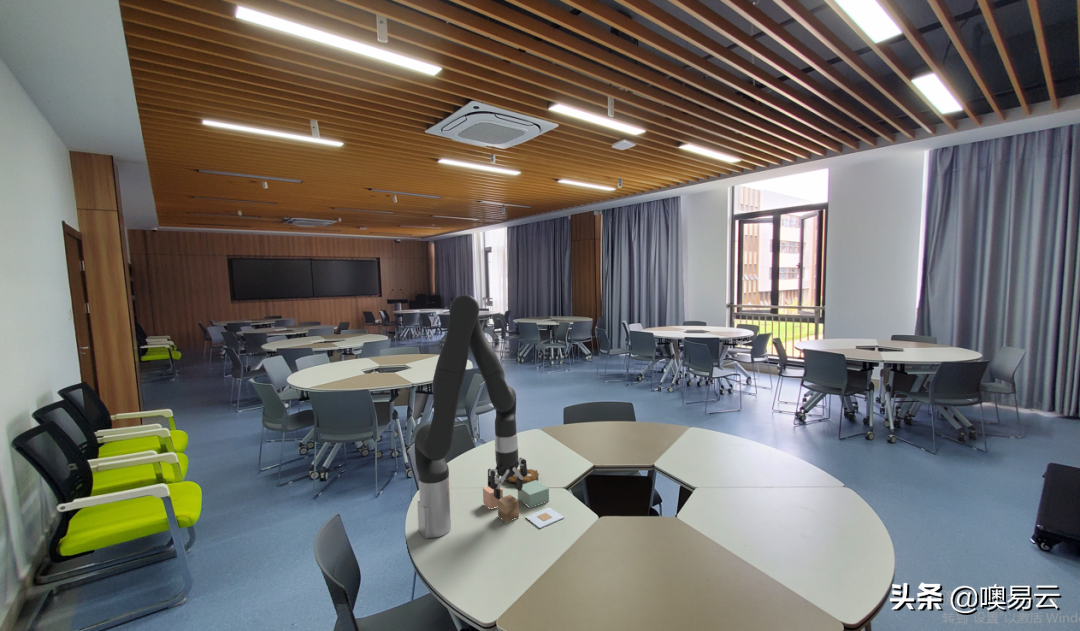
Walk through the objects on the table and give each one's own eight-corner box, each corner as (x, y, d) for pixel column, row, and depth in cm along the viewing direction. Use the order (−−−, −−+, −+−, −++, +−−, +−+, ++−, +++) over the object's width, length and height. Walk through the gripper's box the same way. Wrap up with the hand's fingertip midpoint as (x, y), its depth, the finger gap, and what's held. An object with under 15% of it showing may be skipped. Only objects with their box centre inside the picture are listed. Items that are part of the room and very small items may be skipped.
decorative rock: (498, 488, 165) (538, 489, 165) (498, 478, 165) (538, 479, 164) (502, 473, 177) (539, 475, 176) (502, 464, 176) (539, 465, 176)
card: (539, 528, 137) (539, 527, 137) (525, 518, 143) (525, 516, 143) (564, 518, 143) (564, 516, 143) (549, 508, 149) (549, 506, 149)
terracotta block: (490, 510, 149) (490, 493, 148) (483, 504, 153) (482, 488, 152) (503, 505, 152) (502, 489, 151) (495, 500, 156) (495, 483, 155)
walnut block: (506, 523, 141) (505, 505, 140) (498, 516, 145) (497, 499, 144) (518, 518, 144) (518, 500, 143) (510, 511, 148) (510, 494, 147)
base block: (530, 508, 150) (529, 494, 149) (517, 499, 156) (517, 486, 156) (549, 501, 154) (548, 488, 154) (536, 493, 161) (536, 480, 160)
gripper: (494, 456, 136) (496, 506, 137) (530, 444, 145) (532, 491, 146) (481, 449, 142) (484, 497, 143) (517, 438, 150) (519, 483, 152)
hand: (508, 494), depth 145 cm, fingers open, 8 cm apart
